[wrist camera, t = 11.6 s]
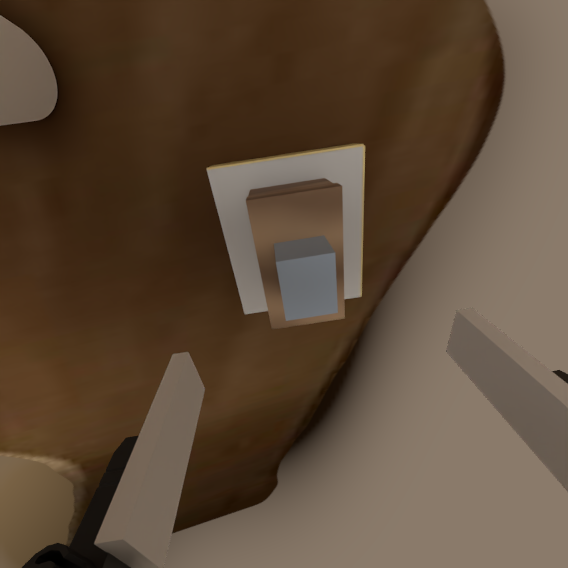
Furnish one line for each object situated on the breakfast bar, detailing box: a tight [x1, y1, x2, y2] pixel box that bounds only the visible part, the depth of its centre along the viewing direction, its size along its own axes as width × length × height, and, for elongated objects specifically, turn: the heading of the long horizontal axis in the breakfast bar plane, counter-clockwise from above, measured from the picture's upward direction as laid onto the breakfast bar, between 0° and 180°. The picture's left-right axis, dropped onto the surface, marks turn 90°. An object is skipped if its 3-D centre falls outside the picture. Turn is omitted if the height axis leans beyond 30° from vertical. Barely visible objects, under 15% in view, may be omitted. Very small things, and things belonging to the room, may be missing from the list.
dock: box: [206, 144, 365, 314], centre depth 28 cm, size 16×14×3 cm
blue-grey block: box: [274, 236, 338, 321], centre depth 20 cm, size 5×4×4 cm
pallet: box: [246, 178, 345, 329], centre depth 24 cm, size 12×7×6 cm, turn 8°
